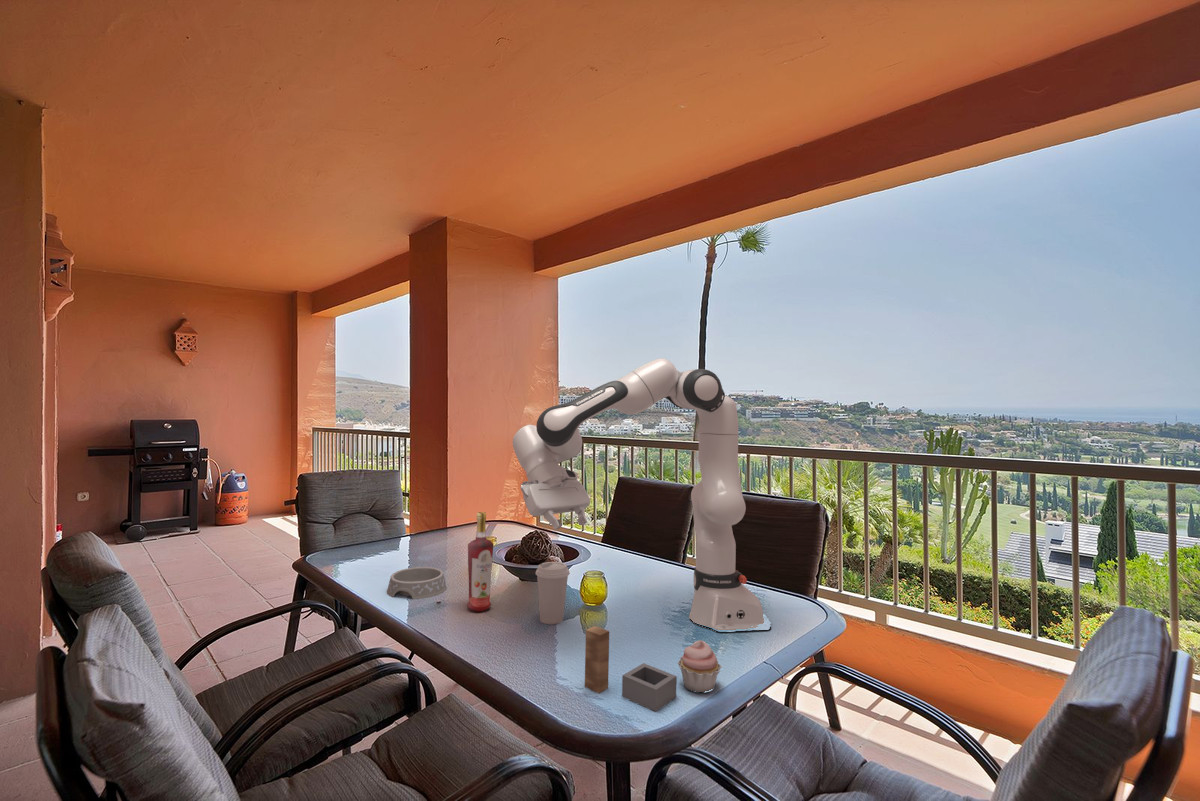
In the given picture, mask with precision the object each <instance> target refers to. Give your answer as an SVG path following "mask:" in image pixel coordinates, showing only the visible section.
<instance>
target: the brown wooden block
mask: <svg viewBox="0 0 1200 801" xmlns="http://www.w3.org/2000/svg"><path fill="white" fill-rule="evenodd" d="M584 648H585V649H584V650H585V652H584V653H585V657H584V664H585V665H584V688H586V689H589V690H590V691H593V692H594V693H597V694H601V693H602V692H604V691H605V690H607V689H609V668H610V667H609V666H610V664H609V661H610V659H609V658H610V630H608V629H605V628H602V627H600V626H596V625H594V626H592V627H590V628H587V629H585V647H584Z"/></svg>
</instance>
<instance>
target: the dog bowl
mask: <svg viewBox="0 0 1200 801" xmlns="http://www.w3.org/2000/svg"><path fill="white" fill-rule="evenodd" d="M446 590H447V584H446V580H445V575H444V571H443V570H442V569H440V568H436V567H433V566H432V567H431V566H417V567H416V566H415V567H408V568H405V569H404V568H403V569H400V570H397V571H395V572H394V573H392V574H391V575H390V578H389V582H388V587H387V589H386V595H387V596H389V597H390V598H394V596H395V595H396V594H398V595H399V594H400V595H401V596H402V595H403V596H410V597H411V598H412V600H421V599H428V598H431V597H435V596H438V595H441V594H444V593H445V592H446Z"/></svg>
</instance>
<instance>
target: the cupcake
mask: <svg viewBox="0 0 1200 801" xmlns="http://www.w3.org/2000/svg"><path fill="white" fill-rule="evenodd" d="M679 659H680V660H678V661H677V664H678V666H679V668H680V671H681V674H682V676H681V677H682V680H683V685H684V687H685V689H687V690H688V689H689V690H688V691H690V690H692V691H696V692H705V691H709V690H711V689H713V688H714V689H715V686H716V681H717V678H718V674H720V671H721V669H722V665H721V664H720V663H719V660H718V658H717V656H716V654H715V653H714V651H713V650H712V648H711V647H710V645H709V644H708V643H707V642H705V641H704V640H701V639H699V640H696V641H695V642H694V643H692V644H691V645H689V646H686V647H685V648H684V650H683V655H682V656H681V657H679ZM714 689H713V690H714ZM692 691H691V692H692Z"/></svg>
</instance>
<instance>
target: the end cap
mask: <svg viewBox="0 0 1200 801" xmlns="http://www.w3.org/2000/svg"><path fill="white" fill-rule="evenodd" d="M621 678H622V679H621V680H622V682H621V687H622V688H621V697H623V698H625V699H626V700H629V701H631V702H634V703H636V704H638V705H640V706H643V707H644V708H647V709H649V710H651V711H653V712H655V713H657V712H658V711H659V710H660V709H662V708H663V707H665V706H667V705H668V704H669V703H671V700H672V701H673V700H674V699H676V698H677V682H678V680H677V679H678V678H677V675H675V674H673V673H670V672H667V671H665V670H662V669H660V668H657V667H654V666H652V665H649V664H647V663H644V662H643V663H642V664H640V665H638V666H636V667H634V668H632V669H631V670H629V671H627V672H626V673H624V674H622V677H621ZM675 697H676V698H675ZM664 705H665V706H664Z"/></svg>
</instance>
